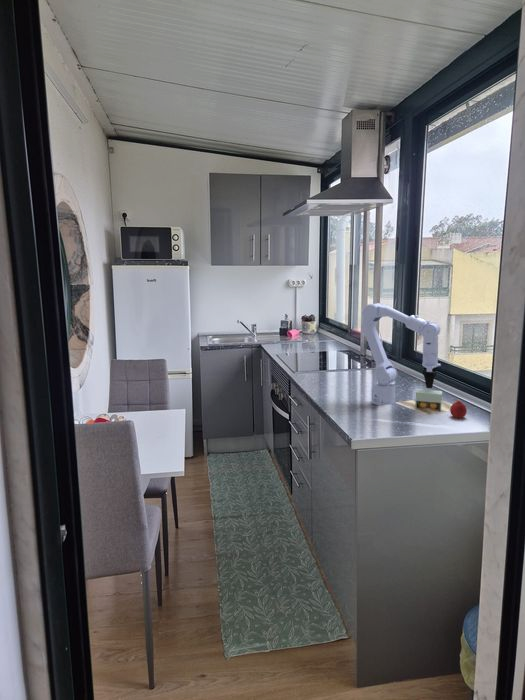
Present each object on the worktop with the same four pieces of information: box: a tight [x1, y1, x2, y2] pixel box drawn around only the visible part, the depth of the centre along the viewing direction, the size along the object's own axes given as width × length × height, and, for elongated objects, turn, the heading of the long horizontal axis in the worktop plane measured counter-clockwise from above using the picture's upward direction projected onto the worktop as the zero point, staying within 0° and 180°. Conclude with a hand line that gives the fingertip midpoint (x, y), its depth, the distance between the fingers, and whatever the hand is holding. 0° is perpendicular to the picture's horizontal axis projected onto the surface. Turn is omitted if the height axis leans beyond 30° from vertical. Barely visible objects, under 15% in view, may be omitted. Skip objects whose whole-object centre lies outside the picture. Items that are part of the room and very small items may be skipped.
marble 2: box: [430, 402, 437, 409], centre depth 187 cm, size 3×3×3 cm
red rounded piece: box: [449, 399, 467, 419], centre depth 175 cm, size 6×6×8 cm
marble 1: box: [420, 401, 427, 408], centre depth 188 cm, size 3×3×3 cm
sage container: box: [414, 388, 443, 411], centre depth 187 cm, size 10×6×7 cm, turn 67°
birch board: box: [395, 399, 454, 416], centre depth 192 cm, size 20×19×1 cm
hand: (429, 385), depth 186 cm, fingers open, 7 cm apart
